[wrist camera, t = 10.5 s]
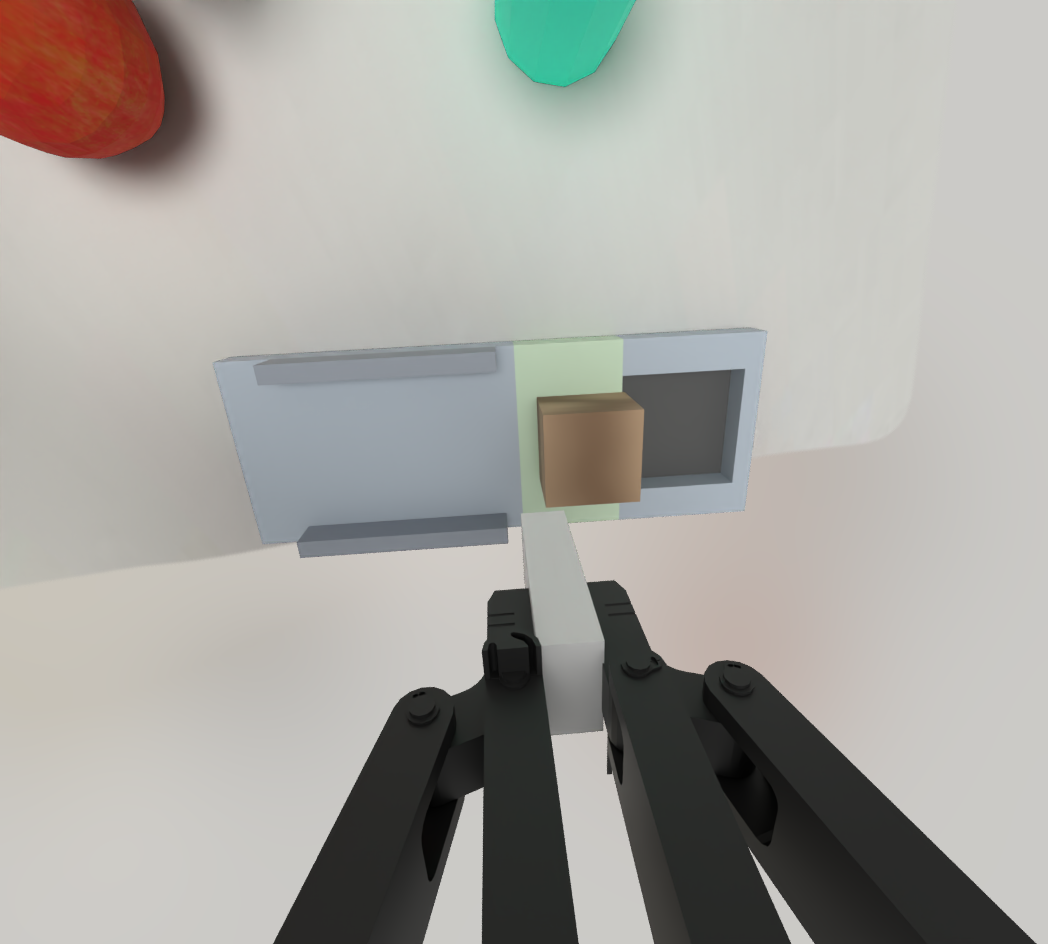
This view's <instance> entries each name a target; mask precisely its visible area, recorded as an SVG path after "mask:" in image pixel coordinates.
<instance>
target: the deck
mask: <svg viewBox="0 0 1048 944" xmlns="http://www.w3.org/2000/svg"><path fill="white" fill-rule="evenodd" d="M766 339H767V331H764V330H759V329H754V328H736V329H718V330H700V331H683V332H665V333H647V334H629V335H612V336H594V337H576V338H559V339H541V340H523V341H505V342H488V343H470V344H452V345H434V346H417V347H399V348H381V349H363V350H346V351H328V352H310V353H292V354H275V355H257V356H239V357H229V358H226V359H223V360H219V361H216V362H213V366H214V370H215V373H216V377H217V381H218V384H219V388H220V391H221V395H222V399H223V402H224V406H225V410H226V413H227V417H228V420H229V424H230V428H231V431H232V435H233V438H234V442H235V446H236V449H237V453H238V456H239V460H240V464H241V467H242V471H243V475H244V478H245V482H246V485H247V489H248V493H249V496H250V500H251V503H252V507H253V511H254V514H255V518H256V522H257V525H258V529H259V532H260V536H261V540H262V543H263V544H272V543H286V542H297V546H298V550H299V554H300V558H305V557H319V556H334V555H347V554H362V553H376V552H391V551H405V550H419V549H434V548H448V547H463V546H477V545H491V544H506V543H508V528H507V527H518V526H521V513H535V512H549V511H563V510H564V512H565V515H566V518H567V522H568V523H577V522H591V521H606V520H620V519H635V518H650V517H664V516H677V515H678V516H679V515H693V514H708V513H722V512H736V511H744V510H745V503H746V495H747V487H748V479H749V471H750V463H751V456H752V448H753V440H754V432H755V425H756V417H757V409H758V401H759V393H760V386H761V378H762V370H763V362H764V354H765V347H766ZM615 392H625V393H626V394H627V395H629V396H630V397H631V398H632V399H633V400H634V401H635V402H636V403H638V404H639V405H640V406H641V407H642V408H643V409H644V427H643V449H642V472H641V495H640V502H627V503H612V504H597V505H581V506H566V507H551V508H546V505H545V501H544V496H543V492H542V487H541V483H540V475H539V449H538V422H537V397H546V396H563V395H580V394H598V393H615Z"/></svg>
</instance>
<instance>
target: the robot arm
mask: <svg viewBox="0 0 1048 944" xmlns="http://www.w3.org/2000/svg"><path fill="white" fill-rule="evenodd" d="M521 527H522V543H523V562H524V580H525V589H512V590H500V591H494V593H493V595H492V596H491V598H490V599H489V601H488V612H487V613H488V617H487V625H488V626H487V640H486V641H485V643H484V645H483V649H482V657H483V667H484V676H483V677H482V679H481V680H480V681H479V682H478V683H477V684H476V685H474V686H473V687H472V688H470V689H468V690H466V691H464V692H461V693H459V694H456V695H453V696H450V695H449V694H447V693H446V692H445V691H444V690H441V689H438V688H435V687H426V688H420V689H417V690H414V691H411V692H409V693H408V694H407V695H405V696H404V697H402V698H401V699H400V700H399V702H398V703H397V704H396V705H395V707H394V708H393V710H392V712H391V714H390V716H389V718H388V720H387V722H386V724H385V726H384V728H383V730H382V732H381V734H380V736H379V738H378V740H377V742H376V744H375V745H374V748H373V749H372V751H371V753H370V755H369V757H368V759H367V761H366V763H365V765H364V767H363V769H362V771H361V773H360V775H359V777H358V779H357V781H356V783H355V785H354V787H353V789H352V790H351V793H350V795H349V797H348V798H347V800H346V802H345V804H344V806H343V808H342V810H341V812H340V814H339V816H338V818H337V820H336V822H335V824H334V826H333V828H332V830H331V832H330V834H329V836H328V837H327V840H326V842H325V843H324V845H323V847H322V849H321V851H320V853H319V855H318V857H317V859H316V861H315V863H314V865H313V867H312V869H311V871H310V873H309V875H308V877H307V879H306V880H305V882H304V884H303V886H302V888H301V890H300V892H299V894H298V896H297V898H296V900H295V902H294V904H293V906H292V908H291V910H290V912H289V914H288V916H287V918H286V920H285V922H284V924H283V926H282V928H281V929H280V931H279V933H278V935H277V937H276V939H275V941H274V943H273V944H423V941H424V937H425V934H426V930H427V927H428V923H429V920H430V916H431V913H432V909H433V906H434V903H435V899H436V896H437V892H438V889H439V885H440V882H441V878H442V875H443V871H444V868H445V865H446V861H447V858H448V854H449V851H450V847H451V844H452V841H453V837H454V834H455V830H456V827H457V823H458V820H459V816H460V813H461V809H462V806H463V803H464V797H465V795H466V794H469V793H471V792H473V791H476V790H478V789H480V788H483V787H484V796H483V888H482V899H483V900H482V944H579V943H578V935H577V928H576V920H575V913H574V905H573V898H572V890H571V883H570V876H569V868H568V861H567V853H566V846H565V838H564V830H563V823H562V816H561V808H560V801H559V793H558V786H557V778H556V772H555V764H554V756H553V748H552V741H551V735H561V734H572V733H584V732H595V731H603V717H604V721H605V725H606V729H607V732H608V744H607V774H612V771H613V775H614V779H615V784H616V788H617V792H618V796H619V800H620V804H621V808H622V813H623V817H624V821H625V825H626V829H627V833H628V837H629V841H630V846H631V850H632V854H633V858H634V862H635V866H636V870H637V874H638V879H639V883H640V886H641V891H642V895H643V899H644V903H645V907H646V912H647V915H648V920H649V924H650V928H651V932H652V936H653V940H654V944H791V942H790V940H789V938H788V935H787V933H786V931H785V929H784V927H783V924H782V922H781V920H780V918H779V915H778V913H777V911H776V909H775V906H774V904H773V902H772V900H771V898H770V895H769V893H768V891H767V888H766V886H765V884H764V882H763V880H762V877H761V875H760V873H759V871H758V868H757V866H756V864H755V862H754V859H753V857H752V855H751V853H750V850H751V852H752V853H753V854H754V856H755V857H756V859H757V860H758V862H759V863H760V865H761V866H762V868H763V869H764V870H765V872H766V873H767V875H768V876H769V878H770V879H771V881H772V882H773V884H774V885H775V887H776V888H777V889H778V891H779V892H780V894H781V895H782V897H783V898H784V900H785V901H786V902H787V904H788V905H789V907H790V908H791V910H792V911H793V913H794V914H795V916H796V917H797V919H798V920H799V922H800V923H801V924H802V926H803V927H804V929H805V930H806V932H807V933H808V935H809V936H810V938H811V939H812V940H813V942H814V943H815V944H1036V943H1035V942H1034V941H1033V940H1032V939H1031V938H1030V937H1029V936H1028V935H1027V934H1026V933H1025V932H1024V931H1023V930H1022V929H1021V928H1020V927H1019V926H1018V925H1016V923H1015V922H1014V921H1013V920H1011V918H1009V917H1008V916H1007V915H1006V914H1005V913H1004V912H1003V911H1002V910H1001V909H1000V908H999V907H998V906H997V905H996V904H995V903H994V902H993V901H992V900H991V899H990V898H989V897H988V896H987V895H986V894H985V893H984V892H983V891H982V890H981V889H980V888H979V887H978V886H977V885H976V884H975V883H974V882H973V881H972V880H971V879H970V878H969V877H968V876H967V875H966V874H965V873H963V871H962V870H960V869H959V868H958V867H957V866H956V865H955V864H954V863H953V862H952V861H951V860H950V859H949V858H948V857H947V856H946V855H945V854H944V853H943V852H942V851H941V850H940V849H939V848H938V847H937V846H936V845H935V844H934V843H933V842H932V841H931V840H930V839H929V838H927V836H926V835H925V834H924V833H923V832H922V831H921V830H920V829H919V828H918V827H917V826H916V825H915V824H914V823H913V822H912V821H910V820H909V819H908V818H907V817H906V816H905V815H904V814H903V813H902V812H901V811H900V810H899V809H898V808H897V807H896V806H895V805H894V804H893V803H892V802H891V801H890V800H889V799H888V798H887V797H886V796H885V795H884V794H883V793H882V792H881V791H880V790H879V789H878V788H877V787H876V786H875V785H874V784H873V783H872V782H871V781H870V780H869V779H867V777H866V776H865V775H864V774H862V773H861V772H860V771H859V770H858V769H857V768H856V767H855V766H854V765H853V764H852V763H851V762H850V761H849V760H848V759H847V758H846V757H845V756H844V755H843V754H842V753H841V752H840V751H839V750H838V749H837V748H836V747H835V746H834V745H833V744H832V743H831V742H830V741H829V740H828V739H827V738H826V737H825V736H824V735H823V734H822V733H821V732H820V731H818V730H817V728H815V726H814V725H812V724H811V723H810V722H809V721H808V720H807V719H806V718H805V717H804V716H803V715H802V714H801V713H800V712H799V711H798V710H797V709H796V708H795V707H794V706H793V705H792V704H791V703H790V702H789V701H788V700H787V699H786V698H785V697H784V696H783V695H782V694H781V693H780V692H779V691H778V690H777V689H776V688H775V687H774V686H773V685H772V684H771V683H770V682H769V681H768V680H767V679H765V677H763V676H762V675H761V674H760V673H759V672H757V671H756V670H755V669H753V668H752V667H750V666H748V665H745V664H743V663H740V662H735V661H728V660H726V661H717V662H715V663H713V664H711V665H709V666H708V668H707V670H706V671H705V673H704V675H701V674H696V673H689V672H684V671H680V670H676V669H674V668H672V667H669V666H667V665H666V663H665V662H664V660H663V659H662V658H661V657H660V656H659V655H658V654H656V653H655V652H653V651H652V650H651V648H650V646H649V644H648V641H647V639H646V637H645V634H644V632H643V630H642V628H641V625H640V623H639V620H638V618H637V616H636V614H635V611H634V609H633V606H632V605H631V602H630V599H629V597H628V595H627V592H626V590H625V589H624V588H622V587H621V586H620V585H619V584H618V583H617V582H616V581H614V580H613V581H600V582H588V583H586V579H585V576H584V573H583V570H582V567H581V563H580V560H579V557H578V554H577V550H576V547H575V544H574V541H573V538H572V534H571V531H570V528H569V525H568V522H567V518H566V515H565V512H564V510H563V511H549V512H535V513H521ZM748 847H749V848H750V850H749V848H748Z"/></svg>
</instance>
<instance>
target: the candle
mask: <svg viewBox="0 0 1048 944" xmlns="http://www.w3.org/2000/svg"><path fill="white" fill-rule="evenodd" d="M635 1H636V0H495V22H496V24H497V27H498V30H499V33H500V36H501V39H502V41H503V44H504V47H505V50H506V53H507V56H508V58H509V59H510V60H511V61H512V62H513V63H515V64H516V65H517V66H518V67H519V68H520V69H521V70H522V71H523V72H524V73H525V74H526V75H527V76H528V77H529V78H531V79H532V80H533V81H534V82H539V83H545V84H551V85H557V86H563V87H566V86H568V85H570V84H572V83H574V82H576V81H578V80H580V79H582V78H584V77H586V76H588V75H590V74H592V73H594V72H595V71H596V69H597V68H598V66H599V65H600V63H601V61H602V60H603V58H604V57H605V55H606V54H607V52H608V51H609V49H610V48H611V46H612V45H613V43H614V42H615V40H616V38H617V36H618V34H619V32H620V30H621V28H622V26H623V24H624V22H625V20H626V18H627V16H628V14H629V12H630V11H631V9H632V7H633V5H634V3H635Z"/></svg>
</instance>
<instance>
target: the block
mask: <svg viewBox="0 0 1048 944" xmlns="http://www.w3.org/2000/svg"><path fill="white" fill-rule="evenodd" d="M537 422H538V449H539V475H540V483H541V487H542V492H543V496H544V501H545V505H546V508H551V507H566V506H581V505H597V504H612V503H627V502H640V495H641V472H642V449H643V427H644V409H643V408H642V407H641V406H640V405H639V404H638V403H636V402H635V401H634V400H633V399H632V398H631V397H630V396H629V395H627V394H626V393H625V392H615V393H598V394H580V395H563V396H546V397H537Z"/></svg>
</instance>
